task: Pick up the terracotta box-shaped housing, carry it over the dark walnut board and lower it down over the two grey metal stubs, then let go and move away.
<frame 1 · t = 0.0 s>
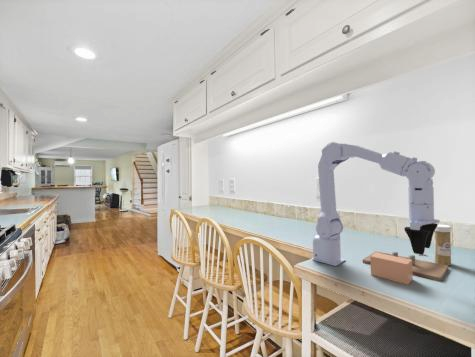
hand: (421, 250, 68), 10 cm above the table, tool pointing down, fingers open, 7 cm apart
sprinkles bottle: (442, 264, 84), on the table
stub board: (403, 265, 83), on the table
housing: (391, 276, 75), on the table
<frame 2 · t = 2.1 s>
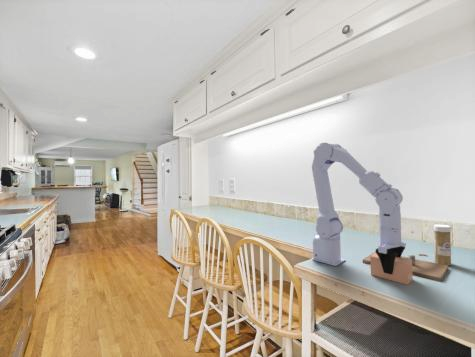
hand: (390, 270, 75), 2 cm above the table, tool pointing down, fingers closed on housing, 5 cm apart
housing: (391, 276, 75), on the table, touching gripper
everything else where it was.
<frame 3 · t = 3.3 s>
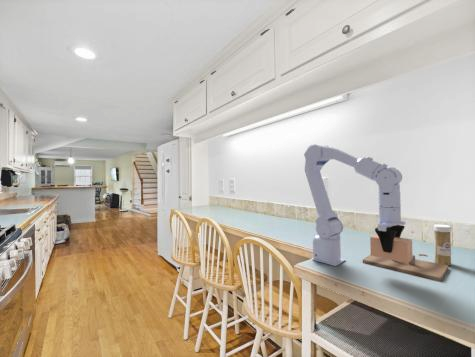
hand: (390, 249, 75), 9 cm above the table, tool pointing down, fingers closed on housing, 5 cm apart
housing: (391, 257, 74), point 6 cm above the table, touching gripper
everything else where it was.
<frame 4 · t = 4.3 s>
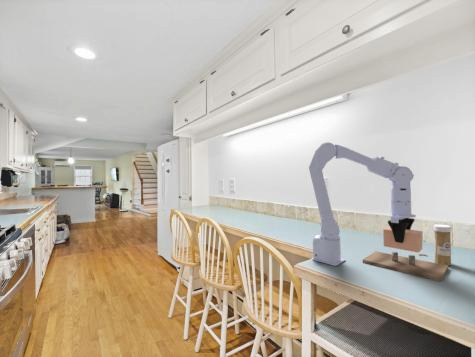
hand: (401, 240, 82), 9 cm above the table, tool pointing down, fingers closed on housing, 5 cm apart
housing: (402, 247, 82), point 7 cm above the table, touching gripper
everything else where it was.
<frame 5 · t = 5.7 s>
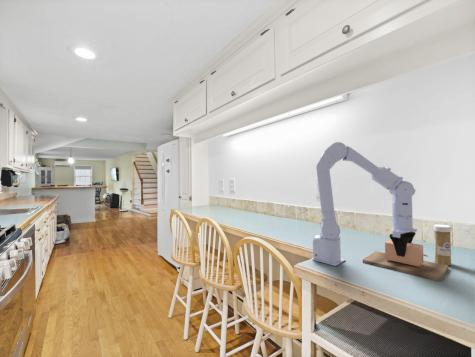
hand: (403, 253, 83), 4 cm above the table, tool pointing down, fingers closed on housing, 5 cm apart
housing: (403, 260, 83), point 2 cm above the table, touching gripper
everything else where it was.
when the fingers open (4 cm above the table, at t = 6.9 s): housing stays where it is, resting on stub board.
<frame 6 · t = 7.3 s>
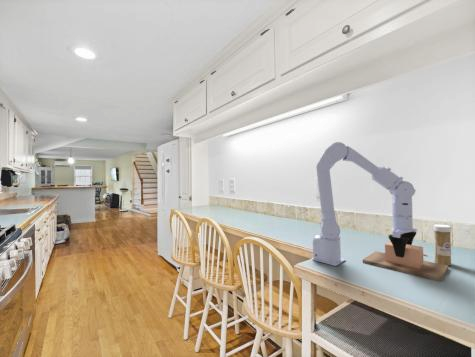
hand: (403, 254, 83), 4 cm above the table, tool pointing down, fingers open, 7 cm apart
housing: (403, 262, 83), point 1 cm above the table, touching stub board
everything else where it was.
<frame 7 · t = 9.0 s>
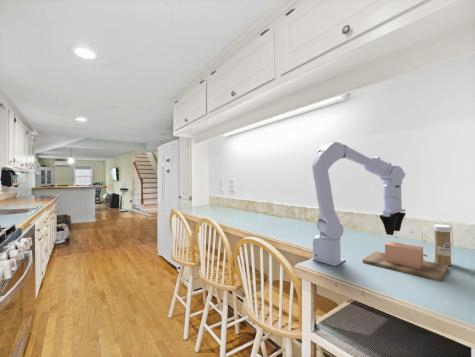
hand: (393, 232, 91), 9 cm above the table, tool pointing down, fingers open, 7 cm apart
nothing on the table moved.
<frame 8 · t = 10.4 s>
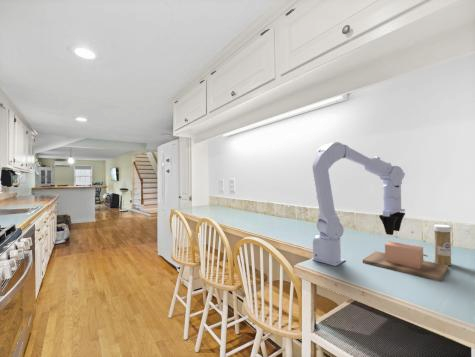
hand: (392, 232, 91), 9 cm above the table, tool pointing down, fingers open, 7 cm apart
nothing on the table moved.
at the end: housing 0.2 cm off-centre on the stub board, point 1.0 cm above the stub board's base; housing tilted 0°; the gripper is holding nothing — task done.
